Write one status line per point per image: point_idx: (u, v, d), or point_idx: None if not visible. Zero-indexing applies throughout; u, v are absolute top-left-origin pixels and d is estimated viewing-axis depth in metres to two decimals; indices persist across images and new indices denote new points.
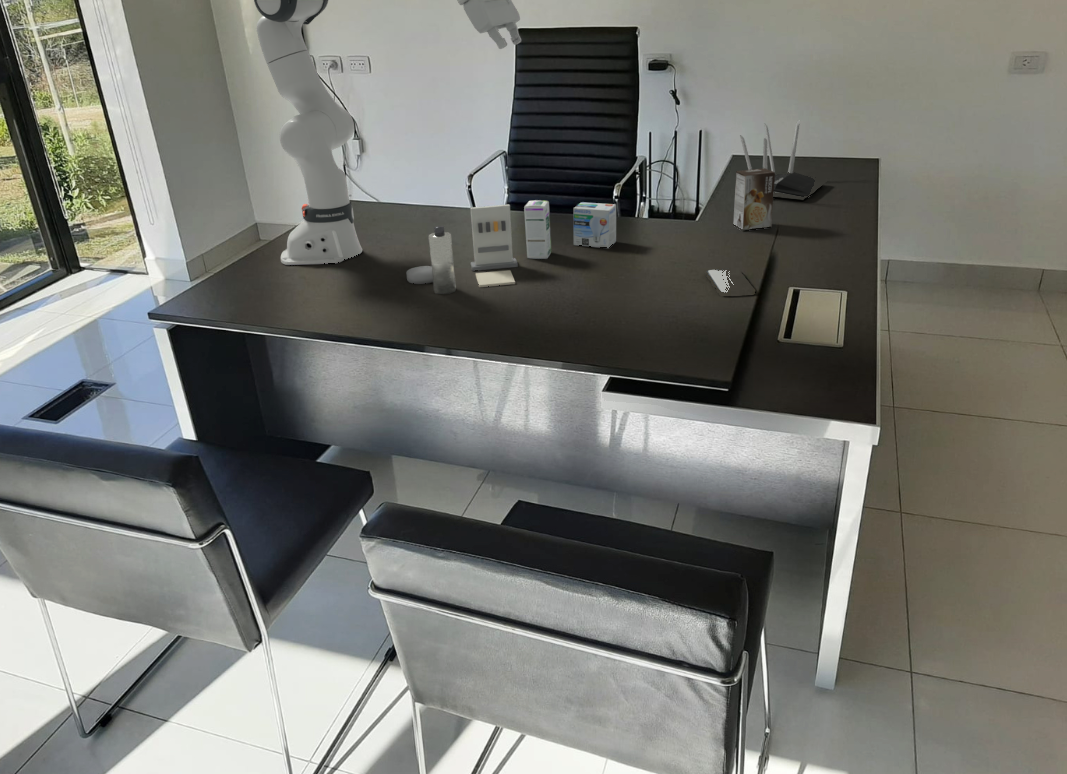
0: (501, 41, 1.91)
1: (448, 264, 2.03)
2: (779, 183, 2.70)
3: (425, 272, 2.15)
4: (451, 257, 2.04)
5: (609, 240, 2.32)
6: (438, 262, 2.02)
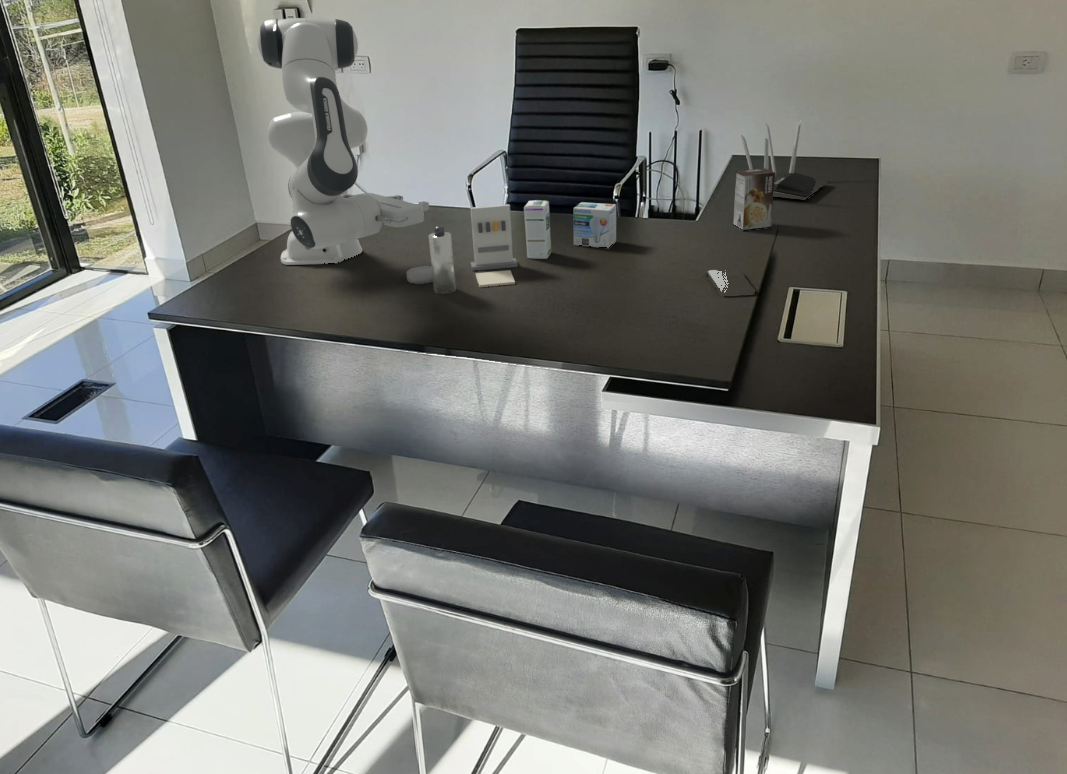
0: None
1: (448, 264, 2.03)
2: (780, 183, 2.70)
3: (425, 272, 2.15)
4: (451, 257, 2.04)
5: (609, 240, 2.32)
6: (438, 262, 2.02)
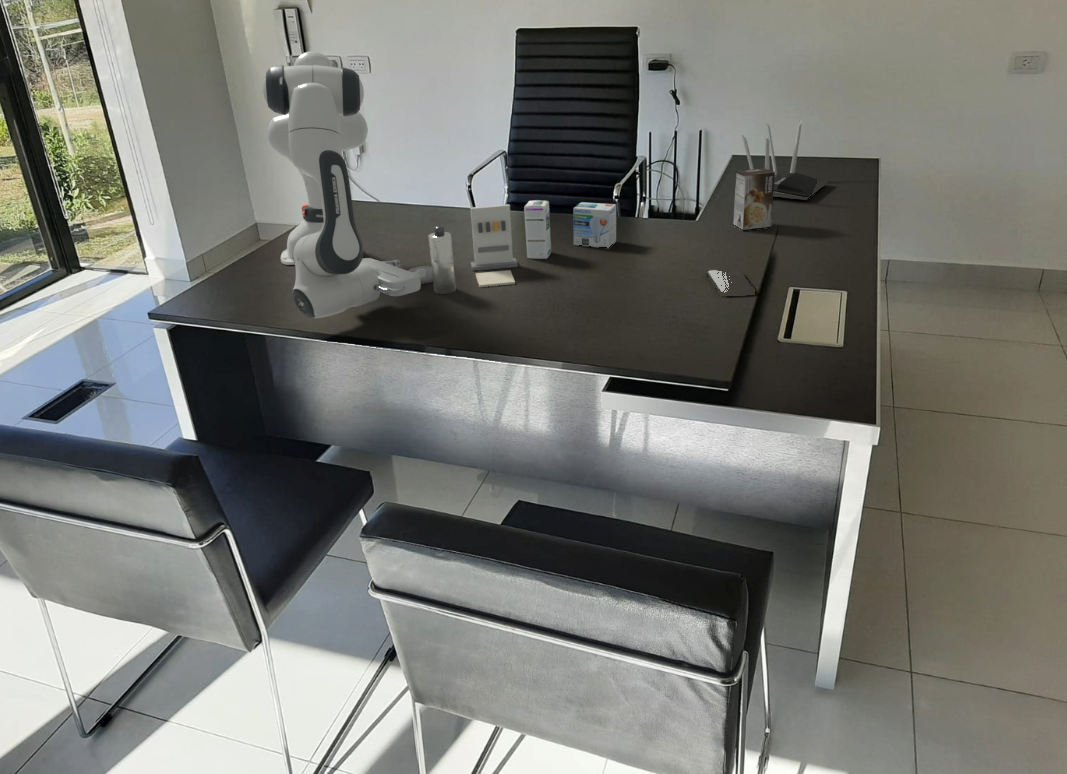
0: None
1: (448, 264, 2.03)
2: (781, 183, 2.70)
3: None
4: (451, 257, 2.04)
5: (609, 240, 2.32)
6: (438, 262, 2.02)
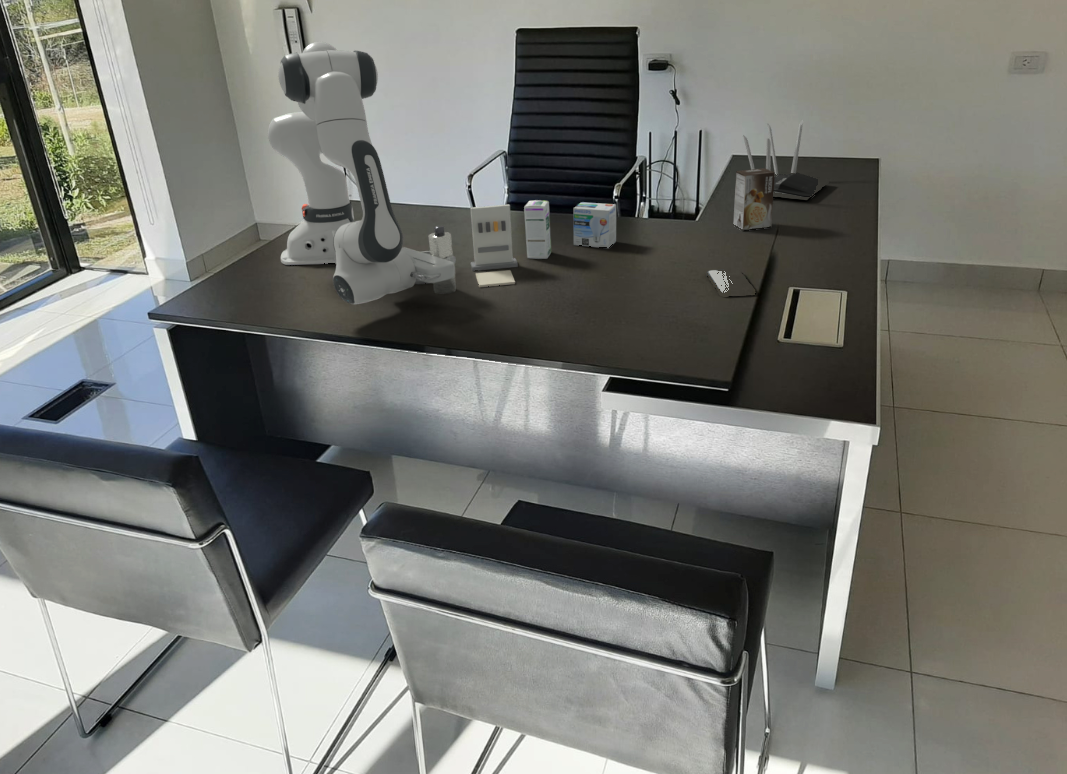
0: None
1: None
2: (782, 183, 2.70)
3: None
4: None
5: (609, 240, 2.32)
6: None
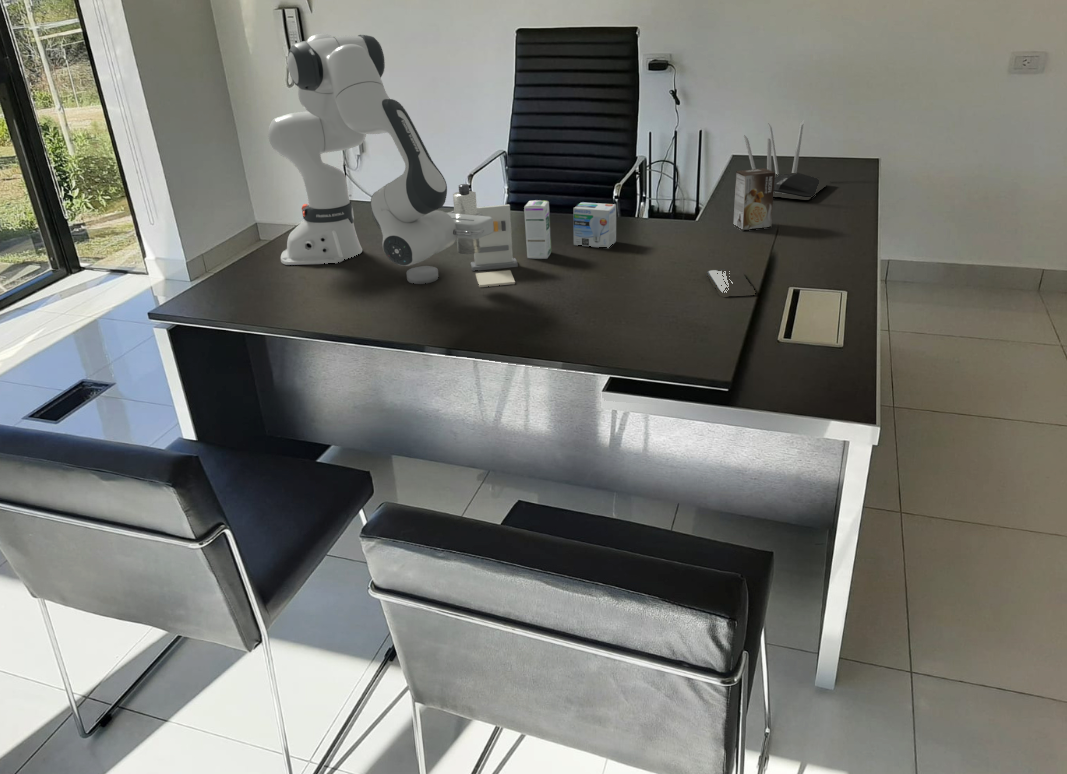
0: None
1: None
2: (783, 183, 2.70)
3: (425, 272, 2.15)
4: None
5: (609, 240, 2.32)
6: None
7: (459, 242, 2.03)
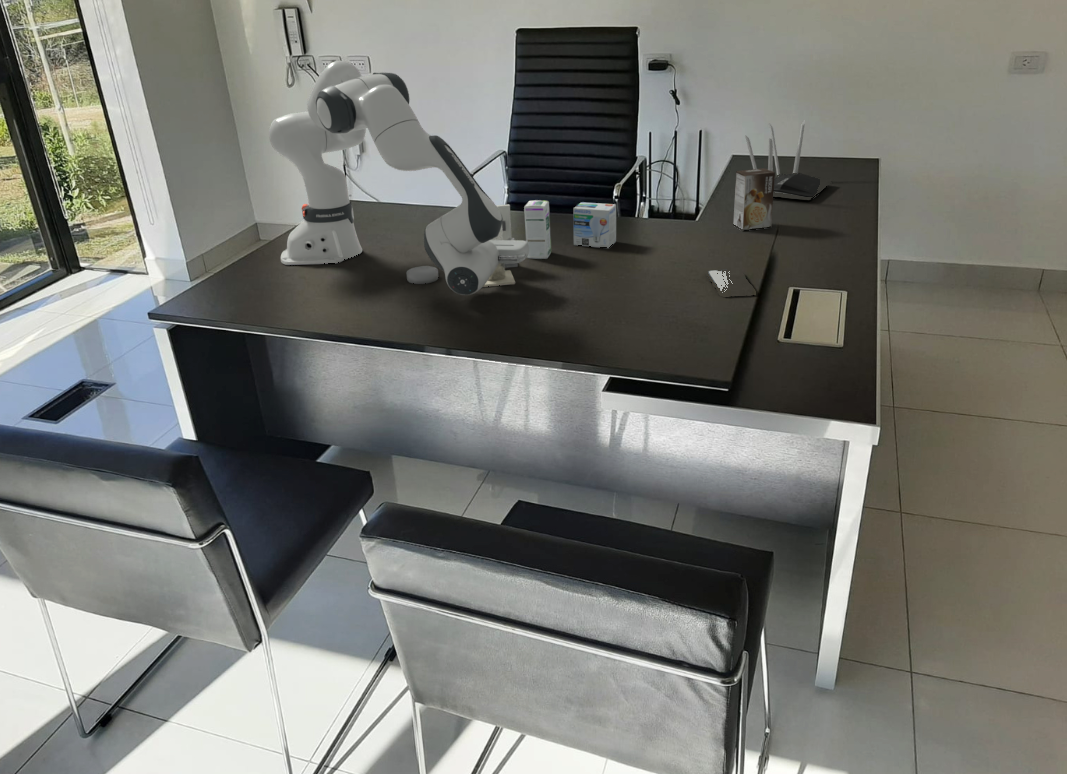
0: None
1: None
2: (784, 184, 2.70)
3: (425, 272, 2.15)
4: None
5: (609, 240, 2.32)
6: None
7: None
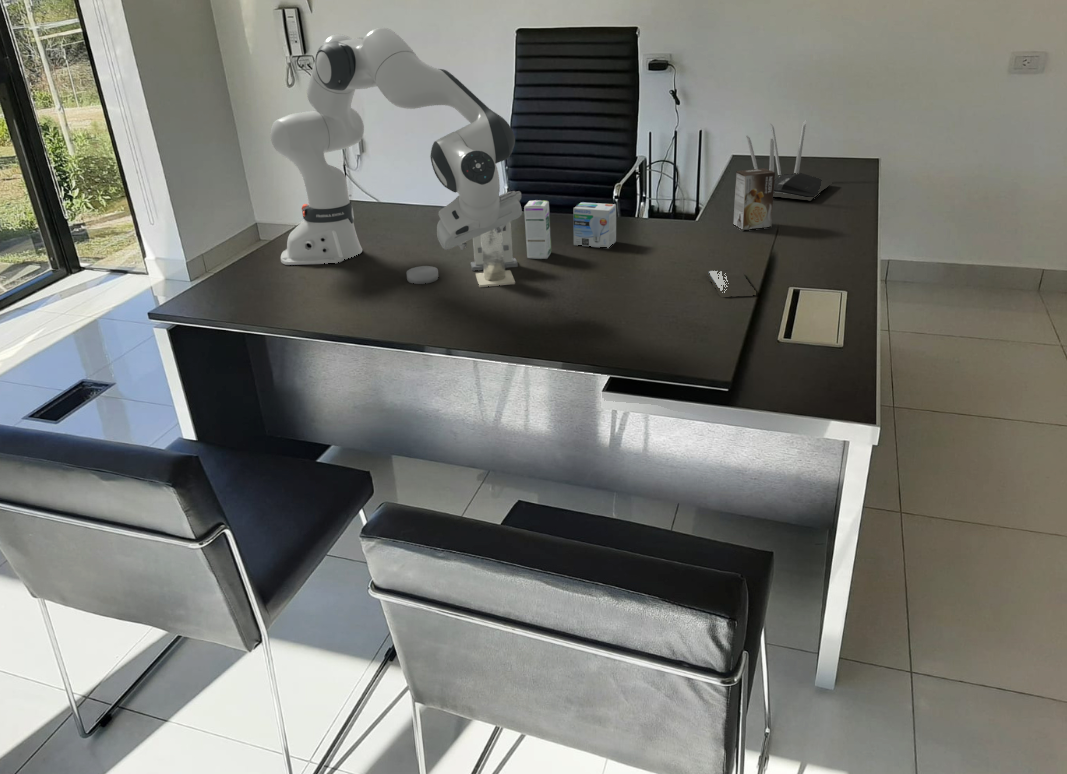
0: (460, 246, 1.96)
1: (502, 250, 2.09)
2: (785, 184, 2.69)
3: (425, 272, 2.15)
4: None
5: (609, 240, 2.32)
6: (496, 249, 2.07)
7: (488, 270, 2.10)
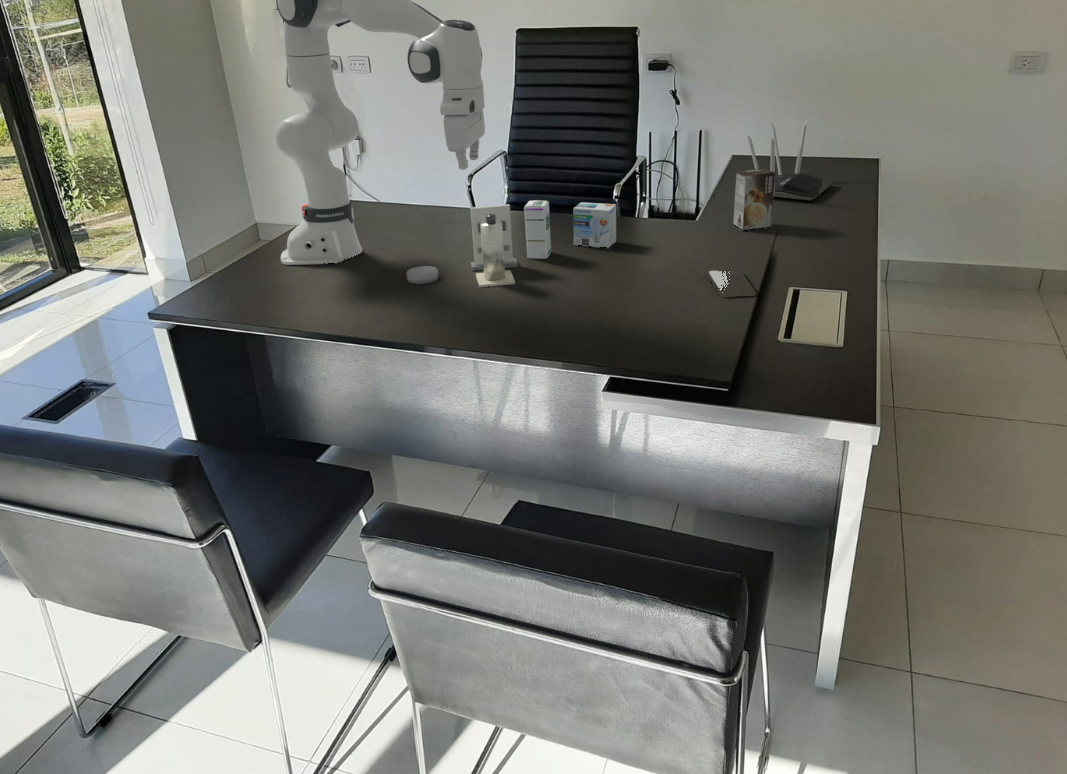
0: (464, 163, 1.86)
1: (503, 250, 2.09)
2: (786, 184, 2.69)
3: (425, 272, 2.15)
4: None
5: (609, 240, 2.32)
6: (496, 248, 2.07)
7: (488, 270, 2.10)
